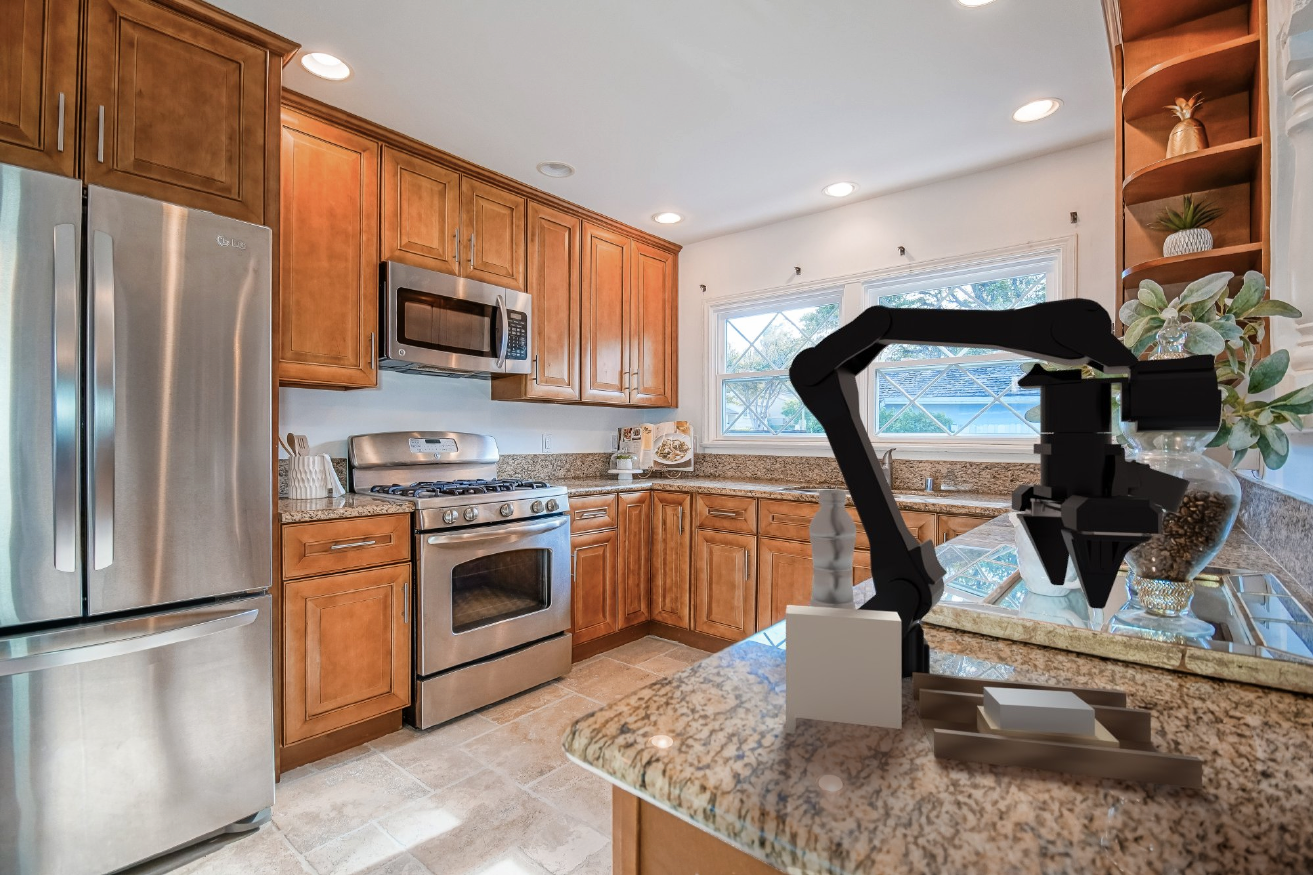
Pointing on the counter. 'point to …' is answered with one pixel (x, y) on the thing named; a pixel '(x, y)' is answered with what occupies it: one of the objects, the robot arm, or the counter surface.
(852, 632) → the panel
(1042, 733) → the oak offcut
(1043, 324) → the robot arm
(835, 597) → the plastic bottle
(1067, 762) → the rack
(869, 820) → the counter surface
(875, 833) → the counter surface
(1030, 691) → the grey offcut
